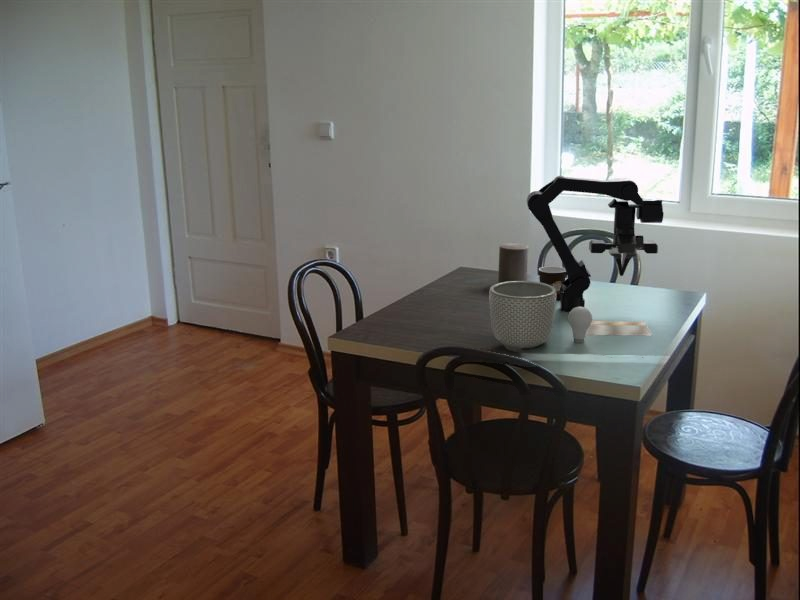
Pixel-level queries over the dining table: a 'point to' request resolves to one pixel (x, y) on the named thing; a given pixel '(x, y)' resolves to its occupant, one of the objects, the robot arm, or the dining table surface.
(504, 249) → the pillar candle
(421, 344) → the dining table surface
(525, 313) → the planter
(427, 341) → the dining table surface
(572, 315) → the lightbulb
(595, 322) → the oak plank
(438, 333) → the dining table surface
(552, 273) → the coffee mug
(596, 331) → the board
